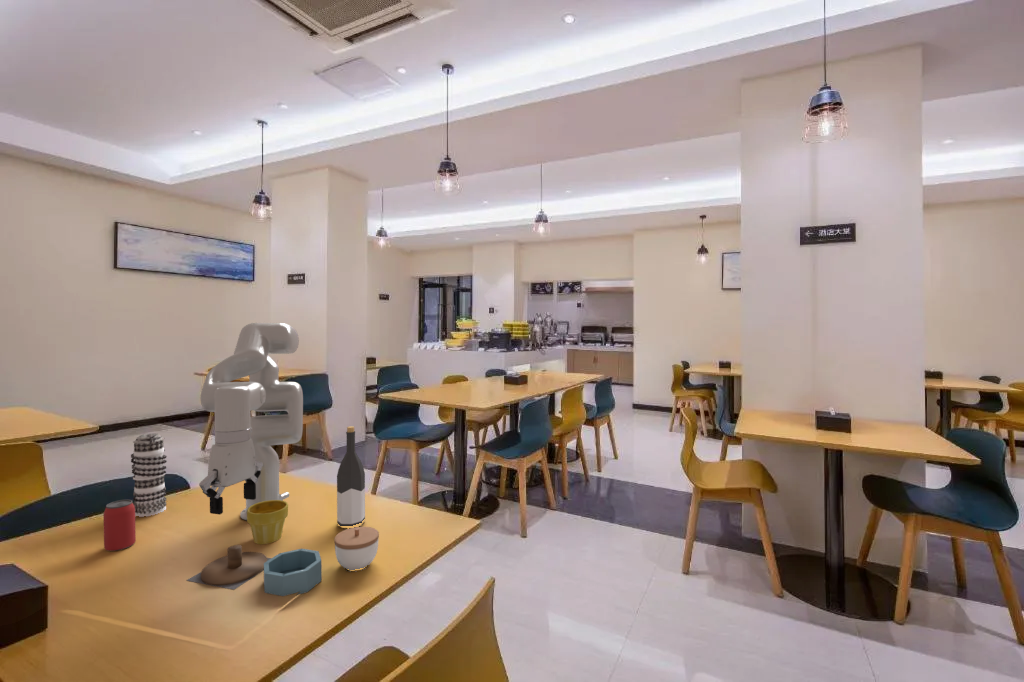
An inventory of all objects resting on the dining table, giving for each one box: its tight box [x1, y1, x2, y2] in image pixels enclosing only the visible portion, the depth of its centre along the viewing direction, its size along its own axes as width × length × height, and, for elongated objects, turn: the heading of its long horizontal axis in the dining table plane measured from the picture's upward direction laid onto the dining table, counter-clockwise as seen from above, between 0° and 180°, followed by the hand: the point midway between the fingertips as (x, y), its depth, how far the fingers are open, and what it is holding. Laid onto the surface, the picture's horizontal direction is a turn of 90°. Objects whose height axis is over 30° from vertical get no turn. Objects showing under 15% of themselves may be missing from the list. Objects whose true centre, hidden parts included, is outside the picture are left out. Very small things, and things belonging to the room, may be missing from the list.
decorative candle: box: [130, 433, 168, 518], centre depth 150 cm, size 9×9×25 cm
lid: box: [200, 544, 268, 586], centre depth 114 cm, size 14×14×6 cm
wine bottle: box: [336, 425, 366, 526], centre depth 141 cm, size 8×8×30 cm
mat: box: [186, 557, 272, 591], centre depth 114 cm, size 14×14×1 cm
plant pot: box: [246, 500, 289, 545], centre depth 130 cm, size 10×10×10 cm
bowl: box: [263, 548, 323, 597], centre depth 109 cm, size 12×12×5 cm
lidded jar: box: [333, 526, 380, 570], centre depth 117 cm, size 11×11×9 cm
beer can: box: [102, 499, 137, 552], centre depth 126 cm, size 7×7×12 cm
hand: (233, 505), depth 113 cm, fingers open, 9 cm apart
